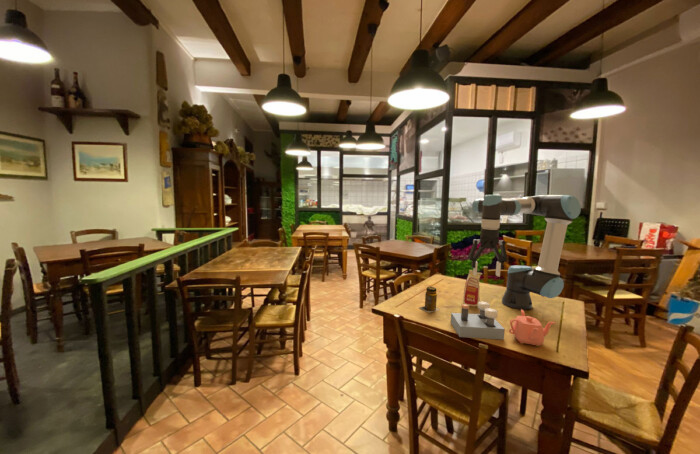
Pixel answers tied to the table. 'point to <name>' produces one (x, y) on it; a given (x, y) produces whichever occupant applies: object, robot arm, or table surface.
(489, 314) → the knob
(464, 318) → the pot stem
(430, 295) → the condiment
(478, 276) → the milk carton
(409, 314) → the table surface
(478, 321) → the mount
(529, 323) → the teapot
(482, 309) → the knob
